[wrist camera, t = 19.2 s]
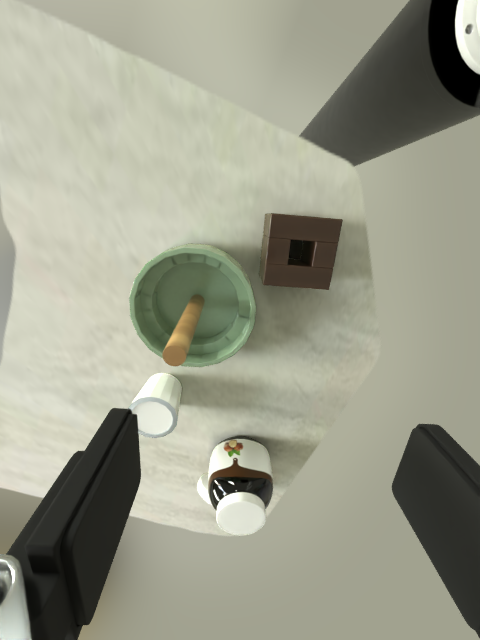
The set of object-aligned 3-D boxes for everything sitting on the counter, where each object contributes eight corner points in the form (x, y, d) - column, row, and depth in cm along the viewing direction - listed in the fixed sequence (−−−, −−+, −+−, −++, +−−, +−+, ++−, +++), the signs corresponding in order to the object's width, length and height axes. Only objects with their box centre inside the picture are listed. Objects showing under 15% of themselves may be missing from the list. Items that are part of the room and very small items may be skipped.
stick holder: (265, 213, 35) (271, 213, 30) (325, 219, 36) (343, 219, 30) (258, 274, 38) (263, 285, 32) (315, 279, 38) (329, 289, 33)
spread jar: (270, 435, 48) (281, 500, 37) (264, 483, 52) (272, 554, 41) (200, 432, 47) (189, 497, 36) (199, 481, 51) (189, 553, 40)
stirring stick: (190, 293, 38) (162, 344, 23) (205, 294, 38) (186, 346, 23) (190, 307, 39) (162, 365, 24) (204, 308, 39) (185, 367, 24)
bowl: (141, 238, 36) (125, 242, 31) (257, 248, 37) (261, 253, 31) (145, 345, 41) (133, 363, 36) (247, 351, 42) (249, 370, 37)
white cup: (173, 363, 42) (162, 390, 36) (193, 397, 45) (186, 429, 38) (133, 378, 43) (116, 407, 37) (155, 411, 45) (142, 444, 39)
